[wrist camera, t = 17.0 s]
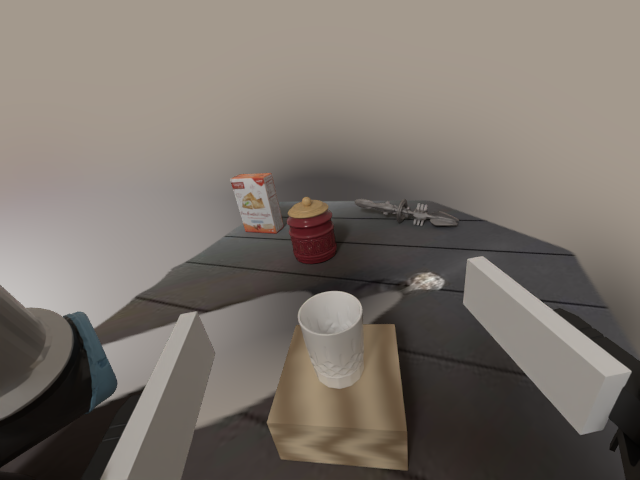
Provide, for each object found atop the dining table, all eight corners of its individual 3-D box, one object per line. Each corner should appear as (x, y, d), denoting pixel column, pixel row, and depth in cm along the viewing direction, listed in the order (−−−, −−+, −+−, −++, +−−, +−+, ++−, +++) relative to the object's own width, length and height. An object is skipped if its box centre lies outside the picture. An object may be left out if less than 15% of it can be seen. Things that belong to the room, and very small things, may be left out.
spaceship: (361, 191, 106) (351, 190, 99) (463, 209, 87) (459, 208, 81) (357, 212, 107) (347, 212, 101) (456, 234, 89) (452, 236, 82)
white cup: (357, 339, 43) (351, 285, 39) (377, 384, 36) (371, 324, 32) (307, 352, 42) (294, 299, 38) (316, 401, 35) (302, 342, 31)
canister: (315, 269, 77) (304, 209, 69) (285, 257, 86) (272, 202, 78) (346, 249, 85) (339, 192, 77) (315, 239, 94) (306, 187, 86)
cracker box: (244, 232, 108) (228, 178, 99) (254, 225, 113) (239, 173, 103) (276, 234, 102) (262, 177, 93) (284, 227, 107) (272, 171, 98)
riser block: (281, 459, 37) (266, 422, 34) (304, 358, 51) (296, 324, 48) (407, 470, 34) (406, 431, 31) (396, 359, 48) (394, 324, 45)
